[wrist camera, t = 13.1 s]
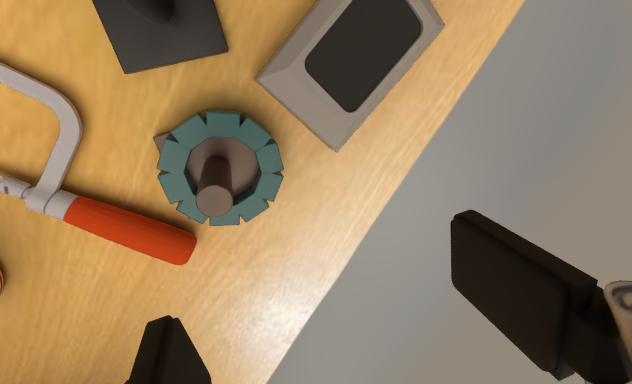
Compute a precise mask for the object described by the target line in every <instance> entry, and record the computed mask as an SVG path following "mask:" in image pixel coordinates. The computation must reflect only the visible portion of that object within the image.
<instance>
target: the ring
mask: <svg viewBox="0 0 632 384" xmlns="http://www.w3.org/2000/svg"><path fill="white" fill-rule="evenodd" d="M170 133H171V134H172V135H171V134H169V135H168V136H167V137H166V138H165V140H164V144H163V147H162V151H161V154H160V158H159V162H158V165H157V169H160V170H161V172H160V173H159V175H158V179H159V181H160V183H161V185H162V187H163V189H164V192H165V194H166V196H167V198H168V200H169V202H170V204H172V203H176V202H178V205H177V208H176V210H178V211H180V212H181V213H183V214H185V215H187V216H189V217H190V218H192V219H194V220H196V221H197V222H199V223H201V224H203V223H204V222H205V221H206V219H207V218H208V216H206V215H204V214H202V213H201V212H200V211H199V210H198V208H197V206H196V201H195V200H196V195H197V190H198V188H197V187H195V185H194V183H193V181H192V178H191V176H190V173H189V171H188V169H187V163H188V160H189V156H190V153H191V150H192V149H194V148H195V147H197V146H198V145H200V144H201V143H203V142H204V141H206V140H207V139H209V138H210V137H223V138H237V139H238V140H239V141H241V142H242V143H243V144H245V145H246V146H247V147H249V148H250V149H251V150H253V151H254V152H255V155H256V158H257V162H258V165H259V169H258V172H257V175H256V177H255V180H254V183H253V186H251V187H250V188H248V189H247V190H245V191H244V192H242V193H241V194H240V195H238V196H237V197H233V206H232V208H231V209H230V211H229V212H228V213H227V214H225V215H223V216H221V217H209V220H210V226H223V225H239V224H240V216H241V217H242V218H243V219H244V221H245V222H248V221H249V220H251V219H252V218H254V217H255V216H257V215H258V214H260V213H261V212H263V211H264V210H266V209H267V208H269V205H268V202H267V200H269V201H274V199H275V197H276V194H277V192H278V189H279V187H280V184H281V182H282V179H283V175H282V173H281V172H280V171H281V170H284V168H283V164H282V161H281V157H280V153H279V150H278V146H277V143H276V142H275V140H274V139H273V138H272V139H270V138H271V137H272V135H271V134H270V133H269V132H268V131H267V130H266V129H264V128H263V127H262V126H261V125H259V124H258V123H257V122H256V121H254V120H253V119H252V118H251V117H249V116H248V115H247V114H246V115H245V116H244V117H243V118H242V120H241V121H240V114H239V111H230V110H214V109H207V111H206V119H205V117H204V116H203V115H202V113H201V112H200V111H199V112H197V113H196V114H194V115H193V116H191V117H190V118H188V119H187V120H185V121H183V122H182V123H180V124H179V125H177V126H176V127H174V128H173V129H172V130H171V132H170Z"/></svg>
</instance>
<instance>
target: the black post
mask: <svg viewBox="0 0 632 384" xmlns="http://www.w3.org/2000/svg"><path fill="white" fill-rule="evenodd" d="M92 1H93V4H94V6H95V8H96V10H97V13H98V15H99V17H100V19H101V22H102V24H103V26H104V28H105V31H106V33H107V35H108V37H109V40H110V42H111V44H112V46H113V49H114V51H115V53H116V55H117V58H118V60H119V62H120V64H121V67H122V69H123V71H124V73H125V74H131V73H135V72H140V71H144V70H149V69H154V68H158V67H163V66H167V65H172V64H177V63H181V62H186V61H190V60H195V59H200V58H204V57H209V56H213V55H218V54H223V53H227V52H228V48H227V44H226V41H225V38H224V34H223V31H222V28H221V24H220V21H219V18H218V14H217V11H216V8H215V4H214V1H213V0H92Z"/></svg>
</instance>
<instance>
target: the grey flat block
mask: <svg viewBox="0 0 632 384" xmlns="http://www.w3.org/2000/svg"><path fill="white" fill-rule="evenodd" d="M444 26H445V24H444V22H443V21H442V19H441V17H440V16H439V14H438V13H437V11H436V10H435V8H434V7H433V5H432V4H431V2H430V0H317V1H316V3H315V4H314V5H313V6H312V8H311V9H310V10H309V11H308V12H307V14H306V15H305V16H304V17H303V19H302V20H301V21H300V22H299V24H298V25H297V26H296V27H295V29H294V30H293V31H292V32H291V34H290V35H289V36H288V37H287V39H286V40H285V41H284V42H283V44H282V45H281V46H280V47H279V49H278V50H277V51H276V52H275V54H274V55H273V56H272V57H271V58H270V60H269V61H268V62H267V63H266V65H265V66H264V67H263V68H262V70H261V71H260V72H259V73H258V75H257V76H256V77H255V78H254V80H255V81H257V82H258V83H259V84H260V85H261V86H262V87H263V88H264V89H265V90H266V91H268V92H269V93H270V94H271V95H272V96H273V97H274V98H275V99H276V100H277V101H279V102H280V103H281V104H282V105H283V106H284V107H285V108H286V109H287V110H288V111H290V112H291V113H292V114H293V115H294V116H295V117H296V118H297V119H298V120H299V121H301V122H302V123H303V124H304V125H305V126H306V127H307V128H308V129H309V130H310V131H312V132H313V133H314V134H315V135H316V136H317V137H318V138H319V139H320V140H321V141H323V142H324V143H325V144H326V145H327V146H328V147H329V148H331V149H332V150H334V151H335V152H338V151H339V150H340V148H341V147H342V146H343V145H344V144H345V143H346V141H347V140H348V139H349V138H350V137H351V136H352V135H353V133H354V132H355V131H356V130H357V129H358V128H359V126H360V125H361V124H362V123H363V122H364V121H365V119H366V118H367V117H368V116H369V115H370V114H371V112H372V111H373V110H374V109H375V108H376V107H377V105H378V104H379V103H380V102H381V101H382V100H383V99H384V97H385V96H386V95H387V94H388V93H389V92H390V90H391V89H392V88H393V87H394V86H395V85H396V83H397V82H398V81H399V80H400V79H401V78H402V76H403V75H404V74H405V73H406V72H407V71H408V70H409V68H410V67H411V66H412V65H413V64H414V63H415V61H416V60H417V59H418V58H419V57H420V56H421V54H422V53H423V52H424V51H425V50H426V49H427V47H428V46H429V45H430V44H431V43H432V42H433V41H434V39H435V38H436V37H437V36H438V35H439V33H440V32H441V30H442V29H443V28H444Z"/></svg>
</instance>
